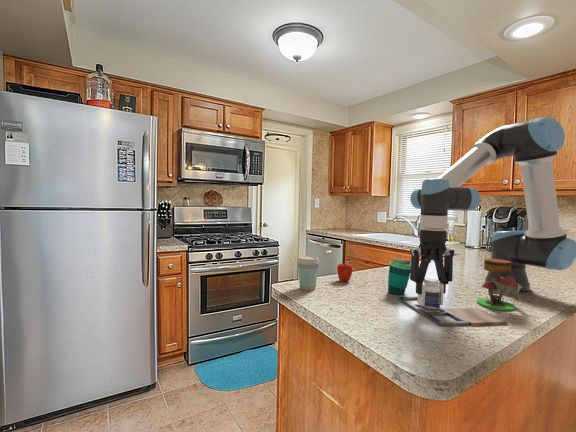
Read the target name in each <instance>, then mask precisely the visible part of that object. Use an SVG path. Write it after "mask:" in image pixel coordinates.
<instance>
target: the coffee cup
mask: <svg viewBox="0 0 576 432" xmlns="http://www.w3.org/2000/svg"><path fill="white" fill-rule="evenodd" d="M296 263H297V269H298V270H297V271H298V279H299V280H298V282H299V289H300V290H301V291H306V292H312V291H315V290H316V285H317V279H318V271H319V264H320V260H319V257H318V256H314V255H302V256H301V255H300V256H298V259H297V260H296Z"/></svg>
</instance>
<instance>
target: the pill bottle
mask: <svg viewBox="0 0 576 432" xmlns="http://www.w3.org/2000/svg"><path fill="white" fill-rule="evenodd" d="M438 282H439V280H438V279H436V278H430V277H425V279H424V282H423V284H425V285H426V287H425V306H422V305H420V307H419V308H420V309H422V310H424V311H425V312H440V306H441V305H440V288H439V287H437V286H438Z"/></svg>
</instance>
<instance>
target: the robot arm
mask: <svg viewBox="0 0 576 432" xmlns="http://www.w3.org/2000/svg"><path fill="white" fill-rule="evenodd" d="M565 135H566V134H565V130H564V128H563V126H562V124H561V123H560V121H558V120H557V119H556V118H554V117H552V116H551V117H550V116H544V117H543V116H542V117H538V118H532V119H528V120H525V121H520V122H516V123H512V124H506V125H502V126H500V127H497V128H496V129H494V130H493V131H490V132H489V133H487V134H486V135H485V136H483V137H482V138H480V139H478V140H477V141H476V142H475V143H474V144H473V145H472V146H471V147H470V150H469V151H468V152H467V153H466V154H465V155H464V156H462V157H461V158H459V160H457V161H456V162H455V163H454V164H453V165H451V166H450V167H449V168H447V169H446V170H445V171H444V172H443V173H442V174H440V175H439V176H437V177H436V178H426V179H424V180H423V181H422V183H421V188H417V189H414V190H413V191H412V192H411V194H410V204H411V205H412V207H413V208H415V209H419V210H420V221H419V223H420V225H419V227H420V230H419V238H418V239H419V245H418V248H411V249H410V250H409V252H410V256H411V258H410V263H411V270H410V277H409V281H412V282H414V283H415V293H416V294H417V297H418V299H417V300H416V302H417V303H416V304H420V305H422V306H425V287H426V285H425V284H424V279H425V278H426V275H427V273H428V272H427V271H428V268H429V265H430V264H431V262H432V261H433V262H434V265H435V270H436V275H437V280H438V286H437V287H439V288H440V306H444V295H445V294H446V292H447V291H446V290H447V287H446V286H447V285H449V283H451V282H452V281H453V269H454V268H453V267H454V265H453V264H454V255H455V250H454V249H451V248H448V247H447V246H446V243H447V242H448V241H447V240H448V232H447V231H446V230H447V229H448V217H449V214H448V213H449V211H459V212H460V211H461V212H467V211H474V210H476V208H477V207H478V206H479V205H480V202H481V194H480V192H479V191H478V190H477V189H476V188H475V187H468V186H462V185H463V184H465V183H466V182H468V180H470V178H472V177H473V176H474V175H475V174H476V173H477V172H479V171H480V170H481V169H483V168H484V167H485V166H486V165H488V166H489V165H491V164H493V163H494V162H495V161H498V160H499V159H503V158H509V157H513V158H514V163H515V164H518V165H519V167H520V170H521V172H520V173H521V179H522V186H523V195H524V202H525V208H526V216H527V223H528V229H526V230H506V231H504V230H503V231H502V230H501V231H495V232H493V233H492V237H491V241H490V243H491V247H490V249H491V250H490V259H501V260H507V261H510V262H511V273H496V272H491V271H487V274H486V276H485V277H484V283H485V282H487V281H491V278H497V279H498V278H499V277H501V276H504V275H509V276H512V277H513V278H514V279H515V282H516V283H518V284H519V285H520V286H522V288H520V290H519V292H520V293H521V292H522V293H523V292H529V291H531V283H530V282H529V277H528V274H527V271H526V269H527V267H526V265H527V266H532V267H537V268H543V269H545V270H546V269H547V270H551V271H552V270H554V271H565V270H567V269H568V268H569V267H571V266H572V265H573V264H574V262H575V260H576V241H575V239H573V238H570V237H568V235H567V231H566V230H565V229H563V228H562V227H561V225H560V218H559V217H560V214H559V210H558V200H557V190H556V182H555V173H554V168H553V166H554V165H553V160H554V159H555V158H556V157H557V156H558V151H559V150H561V149H562V147H564V144H565V143H564V142H565V139H566V136H565Z"/></svg>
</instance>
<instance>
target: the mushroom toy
mask: <svg viewBox="0 0 576 432" xmlns="http://www.w3.org/2000/svg"><path fill="white" fill-rule="evenodd" d="M483 265H484V267H483V270H484V271H487V272H488V271H491V272H496V273H511V262H510V261H507V260H501V259H491V258H485V259H484V262H483ZM481 288H483V289H486V290H487V293H488V296H489V297H490V298H486V297H485V298H483V297H482V298H478V299H476V303H477V304H478V305H480V306H482V307H485V308H488V309H493V310H498V311H507V312H508V311H509V312H510V311H515V310H516V305H515V304H513V303H510V302H507V301H505V300H504V299H505V298H504V297H507V298H508V297H509V298H513V299H515V300H517V301H519V294H520V293H519V290H520V288H522V286H520V285H519V284H518V283H516V282H515V279H514V278H513V277H512V276H509V275H504V276H501V277H499V278H498V279H497V278H491V281H487V282H485V281H484V283H483V284H482V285H481ZM503 296H504V297H503Z"/></svg>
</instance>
